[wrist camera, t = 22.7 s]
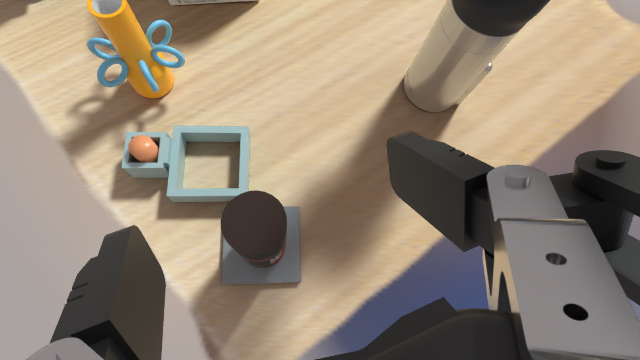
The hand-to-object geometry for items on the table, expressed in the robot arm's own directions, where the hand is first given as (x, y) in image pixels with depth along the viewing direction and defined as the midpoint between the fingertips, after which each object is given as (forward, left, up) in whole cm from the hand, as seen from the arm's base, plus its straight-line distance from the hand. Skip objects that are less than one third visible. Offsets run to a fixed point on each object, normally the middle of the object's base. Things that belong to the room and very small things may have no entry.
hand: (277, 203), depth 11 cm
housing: (+12, -15, -37) cm, 41 cm away
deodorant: (+2, -4, -36) cm, 36 cm away
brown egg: (+18, -16, -36) cm, 43 cm away
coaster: (+3, -4, -37) cm, 37 cm away
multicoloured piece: (+19, -29, -37) cm, 50 cm away
